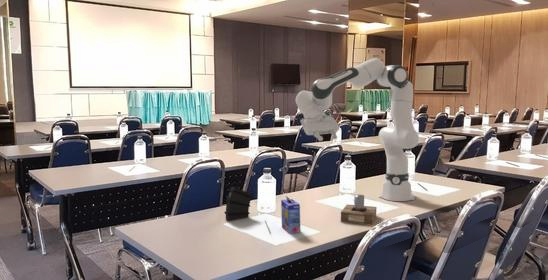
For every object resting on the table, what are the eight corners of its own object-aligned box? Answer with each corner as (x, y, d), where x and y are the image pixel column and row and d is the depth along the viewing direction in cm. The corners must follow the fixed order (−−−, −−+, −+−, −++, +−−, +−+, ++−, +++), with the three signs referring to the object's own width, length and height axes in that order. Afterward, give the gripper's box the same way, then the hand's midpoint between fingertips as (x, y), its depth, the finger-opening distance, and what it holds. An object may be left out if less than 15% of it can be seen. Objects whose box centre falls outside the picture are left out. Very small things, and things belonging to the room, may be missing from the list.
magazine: (218, 216, 208) (230, 186, 210) (241, 224, 215) (253, 194, 217) (222, 218, 205) (234, 187, 207) (245, 226, 212) (257, 196, 213)
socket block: (346, 213, 218) (346, 204, 217) (376, 216, 213) (376, 206, 212) (340, 221, 204) (340, 212, 204) (372, 224, 199) (372, 215, 199)
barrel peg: (355, 217, 211) (355, 194, 210) (364, 218, 210) (364, 194, 209) (353, 219, 207) (353, 196, 206) (363, 220, 206) (363, 197, 205)
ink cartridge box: (280, 226, 198) (280, 194, 196) (292, 225, 199) (292, 193, 198) (288, 233, 188) (288, 199, 187) (300, 232, 190) (300, 198, 188)
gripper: (302, 114, 216) (315, 136, 210) (332, 113, 229) (346, 133, 222) (296, 123, 221) (309, 145, 214) (326, 121, 233) (340, 141, 226)
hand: (328, 139), depth 218 cm, fingers open, 8 cm apart
